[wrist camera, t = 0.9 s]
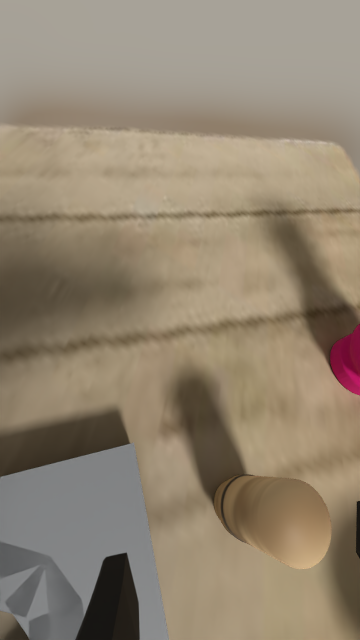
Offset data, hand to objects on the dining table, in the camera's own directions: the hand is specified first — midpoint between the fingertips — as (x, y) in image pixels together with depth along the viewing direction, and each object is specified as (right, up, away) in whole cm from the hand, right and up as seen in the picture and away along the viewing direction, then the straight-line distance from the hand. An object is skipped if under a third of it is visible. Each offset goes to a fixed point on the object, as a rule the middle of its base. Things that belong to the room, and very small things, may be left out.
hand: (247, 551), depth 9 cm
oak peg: (+2, -7, +15) cm, 17 cm away
